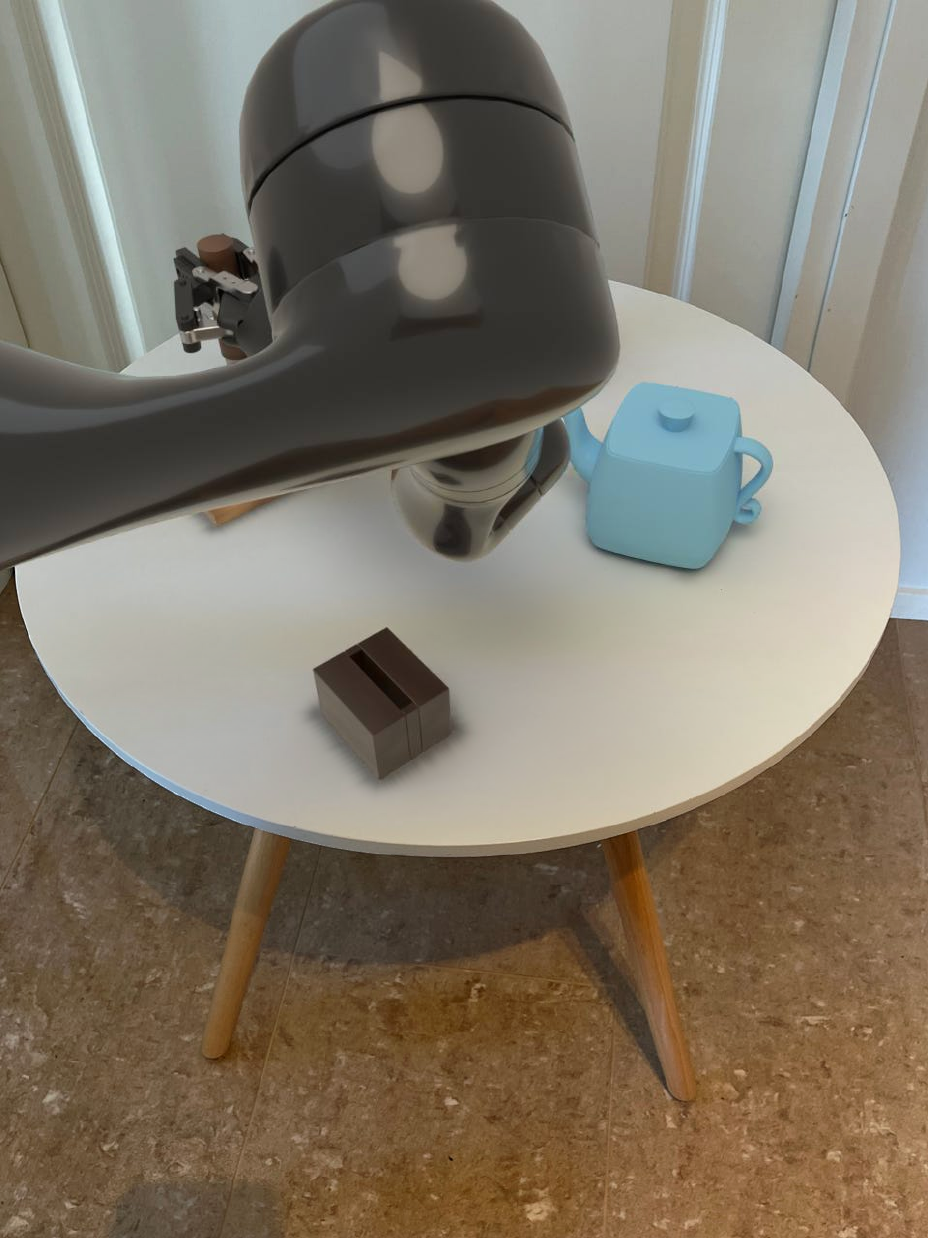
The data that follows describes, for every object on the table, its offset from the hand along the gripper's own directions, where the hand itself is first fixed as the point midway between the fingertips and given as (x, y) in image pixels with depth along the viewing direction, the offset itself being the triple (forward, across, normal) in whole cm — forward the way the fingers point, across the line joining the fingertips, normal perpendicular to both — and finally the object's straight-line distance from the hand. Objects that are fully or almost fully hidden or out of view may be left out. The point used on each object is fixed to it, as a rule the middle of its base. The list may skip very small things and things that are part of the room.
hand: (201, 253), depth 79 cm
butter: (-3, 0, +19) cm, 19 cm away
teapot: (-28, -21, +19) cm, 40 cm away
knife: (-3, 0, +13) cm, 13 cm away
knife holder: (-32, +8, +19) cm, 38 cm away
